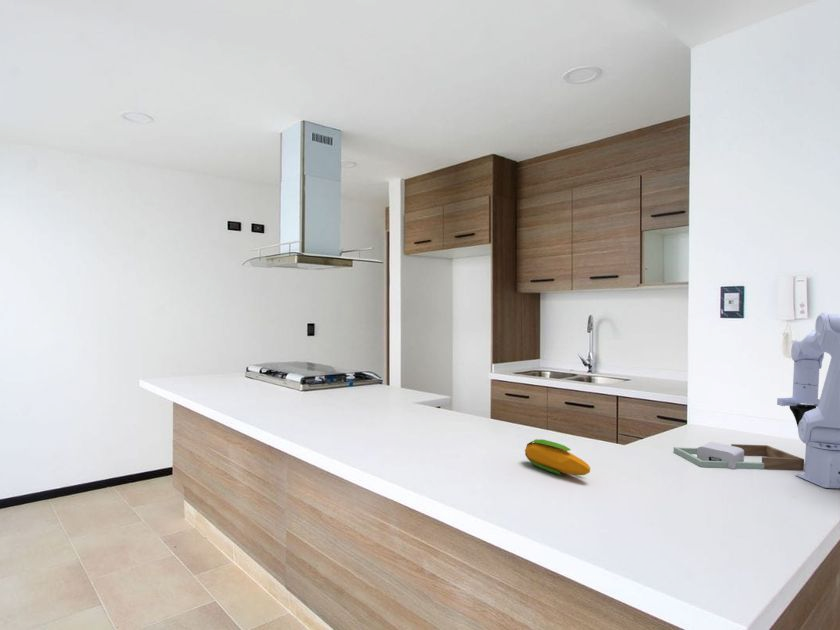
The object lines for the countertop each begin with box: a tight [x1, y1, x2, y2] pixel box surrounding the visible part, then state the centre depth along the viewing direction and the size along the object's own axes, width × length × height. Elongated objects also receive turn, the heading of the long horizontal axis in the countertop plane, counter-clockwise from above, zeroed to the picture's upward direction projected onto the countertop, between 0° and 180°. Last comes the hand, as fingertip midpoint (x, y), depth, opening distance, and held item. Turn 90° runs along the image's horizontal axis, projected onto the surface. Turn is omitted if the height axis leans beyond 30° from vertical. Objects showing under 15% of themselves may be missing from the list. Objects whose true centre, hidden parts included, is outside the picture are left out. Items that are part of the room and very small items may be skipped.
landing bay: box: [673, 446, 765, 470], centre depth 143 cm, size 14×18×2 cm
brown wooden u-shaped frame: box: [730, 443, 805, 471], centre depth 144 cm, size 14×11×3 cm
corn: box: [524, 438, 591, 476], centre depth 127 cm, size 7×8×20 cm
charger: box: [696, 441, 745, 470], centre depth 144 cm, size 5×9×15 cm
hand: (803, 431), depth 142 cm, fingers closed
